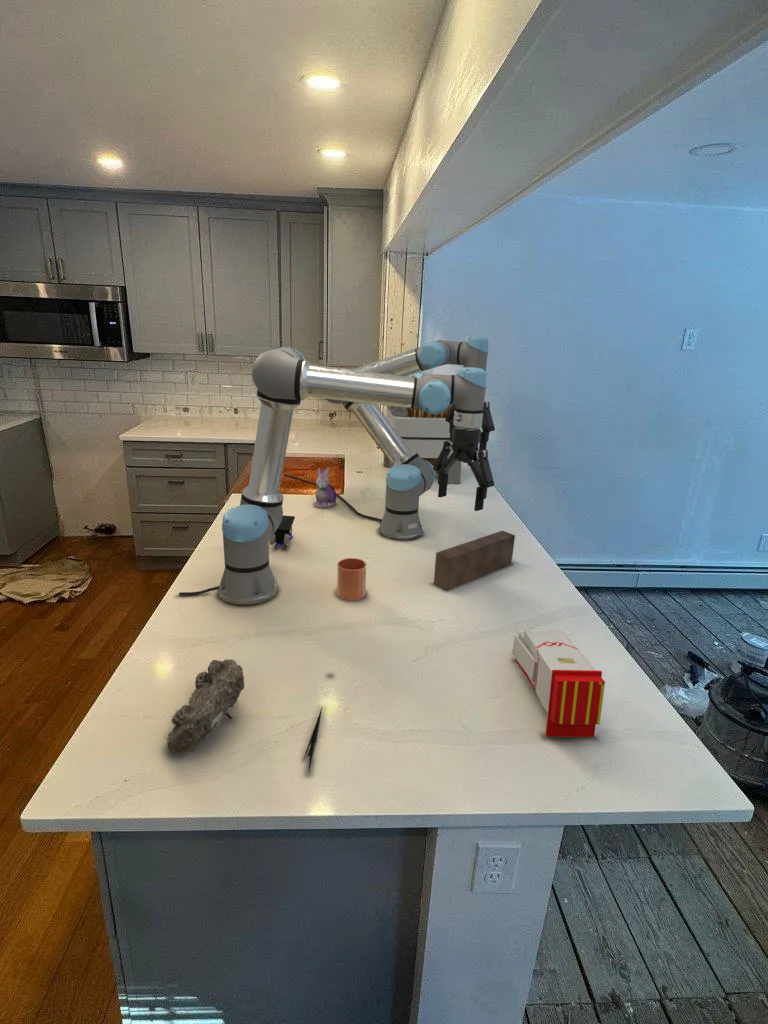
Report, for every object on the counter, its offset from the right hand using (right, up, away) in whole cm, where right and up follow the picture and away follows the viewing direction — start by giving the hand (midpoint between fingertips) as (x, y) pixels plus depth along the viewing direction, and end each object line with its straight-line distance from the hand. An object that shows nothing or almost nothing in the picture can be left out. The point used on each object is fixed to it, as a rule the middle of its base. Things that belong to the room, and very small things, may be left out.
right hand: (467, 446), depth 196 cm
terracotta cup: (-38, -45, -40) cm, 71 cm away
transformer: (-12, -4, +79) cm, 80 cm away
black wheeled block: (-62, -33, -9) cm, 71 cm away
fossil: (-62, -62, -88) cm, 124 cm away
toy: (+6, -61, -77) cm, 98 cm away
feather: (-41, -62, -88) cm, 115 cm away
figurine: (-52, -20, +29) cm, 63 cm away
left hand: (-8, -20, -39) cm, 44 cm away
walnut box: (-1, -41, -24) cm, 48 cm away
